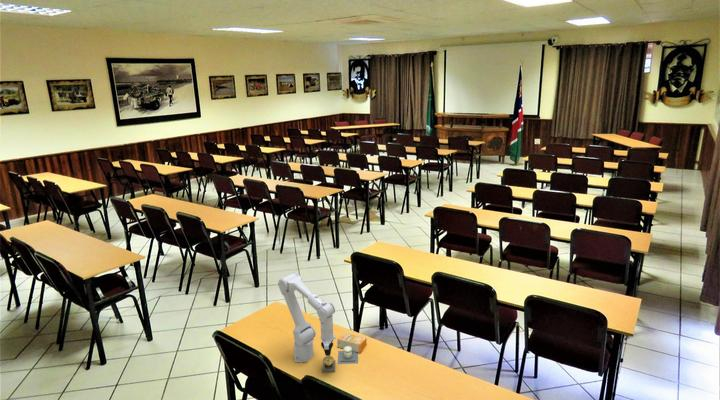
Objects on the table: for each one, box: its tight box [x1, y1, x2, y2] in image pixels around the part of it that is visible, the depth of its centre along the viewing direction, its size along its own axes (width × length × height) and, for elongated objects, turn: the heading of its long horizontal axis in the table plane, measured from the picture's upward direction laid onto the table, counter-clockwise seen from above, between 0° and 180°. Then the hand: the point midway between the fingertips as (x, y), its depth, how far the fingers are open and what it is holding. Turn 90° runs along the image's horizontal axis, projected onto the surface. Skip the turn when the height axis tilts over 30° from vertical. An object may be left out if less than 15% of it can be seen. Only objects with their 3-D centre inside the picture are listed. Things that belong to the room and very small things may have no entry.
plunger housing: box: [321, 359, 336, 374], centre depth 205 cm, size 6×6×3 cm
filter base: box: [337, 350, 359, 365], centre depth 213 cm, size 10×10×2 cm
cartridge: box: [343, 346, 352, 360], centre depth 212 cm, size 4×4×5 cm
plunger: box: [322, 355, 335, 367], centre depth 204 cm, size 5×5×4 cm
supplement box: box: [336, 332, 367, 354], centre depth 221 cm, size 8×5×13 cm
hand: (328, 353), depth 203 cm, fingers closed
